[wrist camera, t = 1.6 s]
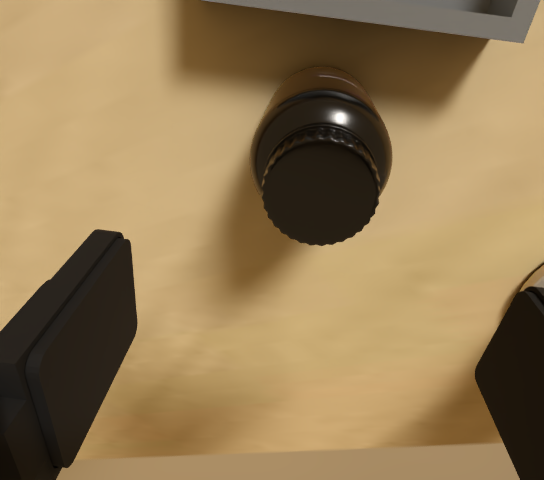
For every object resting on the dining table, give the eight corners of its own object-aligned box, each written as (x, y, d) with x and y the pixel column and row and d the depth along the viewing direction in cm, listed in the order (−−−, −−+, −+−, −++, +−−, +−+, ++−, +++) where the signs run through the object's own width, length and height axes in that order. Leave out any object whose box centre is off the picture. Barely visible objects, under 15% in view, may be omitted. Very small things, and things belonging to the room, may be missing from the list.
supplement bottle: (364, 51, 24) (405, 89, 14) (377, 159, 27) (417, 255, 17) (254, 78, 25) (215, 131, 15) (278, 178, 29) (261, 278, 18)
